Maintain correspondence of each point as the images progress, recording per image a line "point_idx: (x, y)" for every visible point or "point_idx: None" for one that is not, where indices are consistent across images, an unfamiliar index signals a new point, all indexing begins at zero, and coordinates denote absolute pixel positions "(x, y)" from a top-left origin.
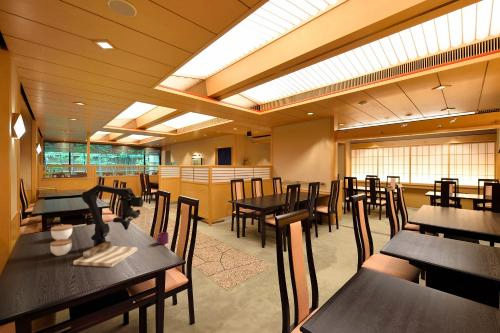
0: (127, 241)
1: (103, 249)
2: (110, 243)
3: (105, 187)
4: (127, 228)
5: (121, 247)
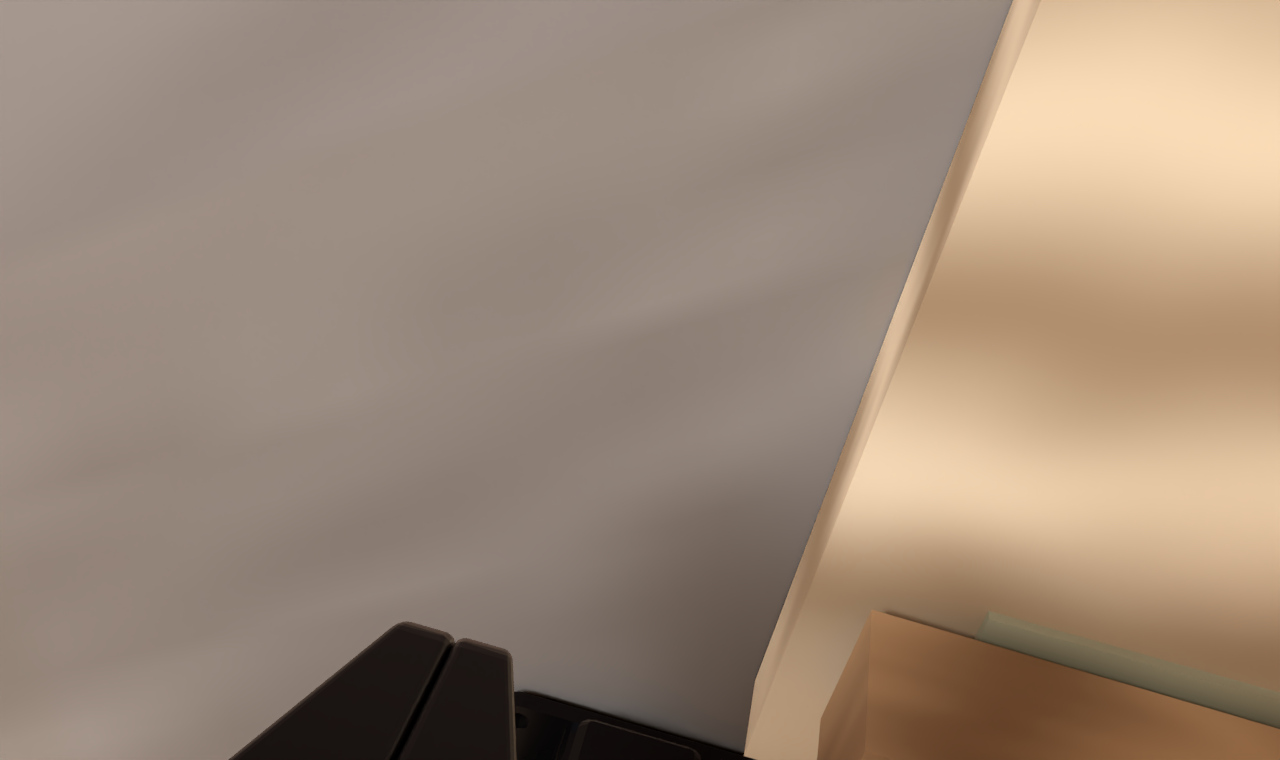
0: (63, 267)
1: (1259, 731)
2: (907, 703)
3: None
4: (391, 699)
5: (1068, 217)
